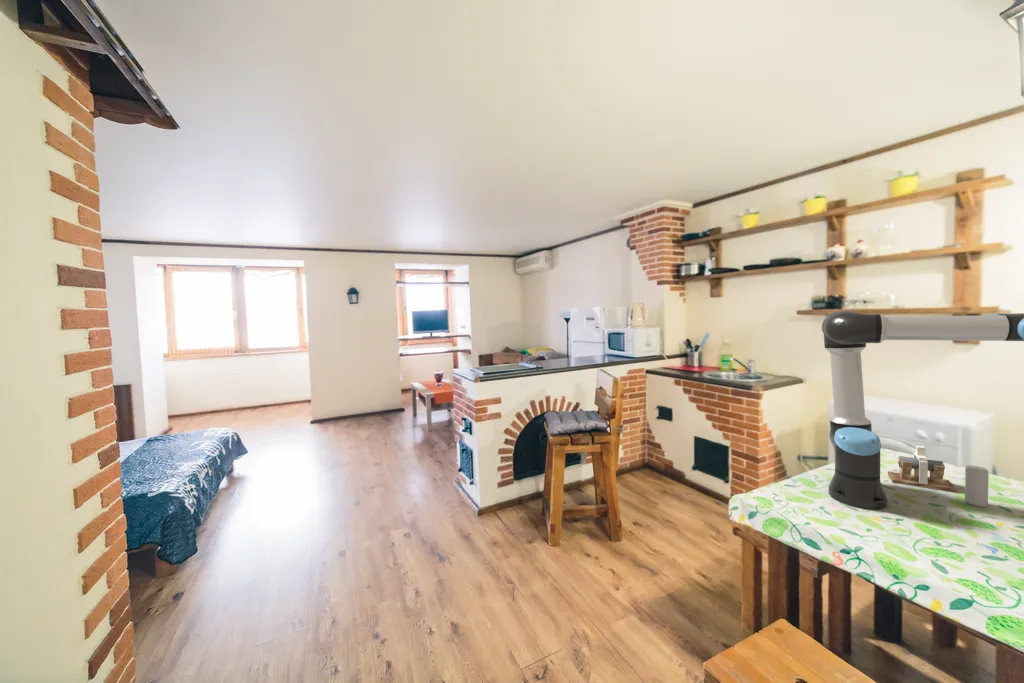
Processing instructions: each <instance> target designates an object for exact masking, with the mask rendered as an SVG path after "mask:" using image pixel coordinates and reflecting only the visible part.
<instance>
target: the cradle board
mask: <svg viewBox="0 0 1024 683" xmlns="http://www.w3.org/2000/svg"><path fill="white" fill-rule="evenodd" d="M912 470H913V469H912V463H911V462H906V461H902V467H899V466H898V472H894V471H887V475H888V477H889V479H890V480H891V482H892V483H893V484H899V485H906V486H913V487H918V488H919V487H920V488H925V489H933V490H940V491H945V492H953V493H957V492H958V490H957V488H956V487H955V485H953V484H952V482H951V481H950V480H949V479H945V478H944V475H945V470H944V467H943V466H937V465H933V471H929V476H928V483H927V484H920V483H919V476H916V475H913V474H912Z"/></svg>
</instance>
